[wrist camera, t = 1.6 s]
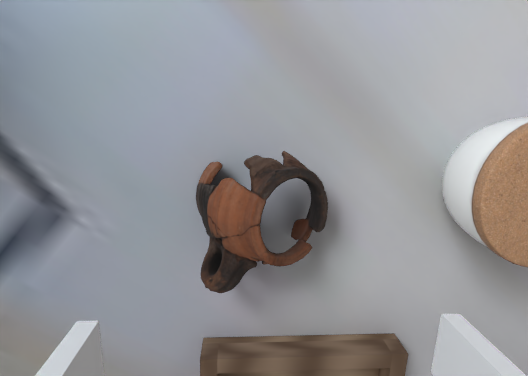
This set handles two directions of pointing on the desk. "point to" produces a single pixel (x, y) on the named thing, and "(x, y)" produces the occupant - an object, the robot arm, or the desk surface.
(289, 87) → the desk surface
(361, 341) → the walnut tray
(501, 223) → the lidded jar
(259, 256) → the broken clay pot
